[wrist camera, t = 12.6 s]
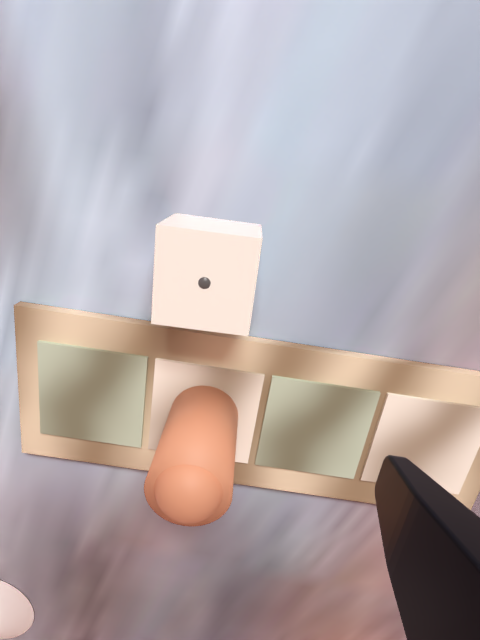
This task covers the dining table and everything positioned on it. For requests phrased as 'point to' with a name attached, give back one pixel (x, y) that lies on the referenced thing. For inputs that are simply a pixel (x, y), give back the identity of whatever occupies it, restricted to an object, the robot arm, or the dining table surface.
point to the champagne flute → (14, 612)
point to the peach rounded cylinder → (195, 458)
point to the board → (243, 403)
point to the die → (205, 273)
